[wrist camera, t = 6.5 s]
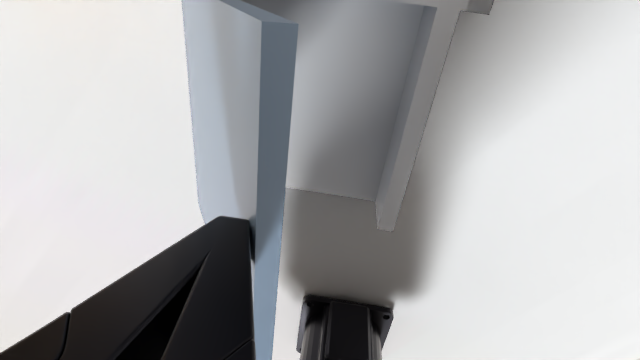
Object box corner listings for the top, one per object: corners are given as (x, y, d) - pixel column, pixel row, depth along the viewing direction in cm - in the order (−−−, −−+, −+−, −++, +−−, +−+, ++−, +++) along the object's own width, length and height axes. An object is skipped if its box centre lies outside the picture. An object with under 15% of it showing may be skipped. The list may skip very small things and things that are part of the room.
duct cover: (271, 364, 10) (251, 372, 10) (211, 201, 16) (198, 203, 16) (298, 23, 5) (261, 21, 5) (198, -17, 12) (180, -19, 11)
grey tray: (405, 201, 19) (413, 235, 17) (209, 170, 20) (186, 199, 17) (566, -319, 10) (642, -429, 7) (178, -365, 10) (115, -487, 7)
